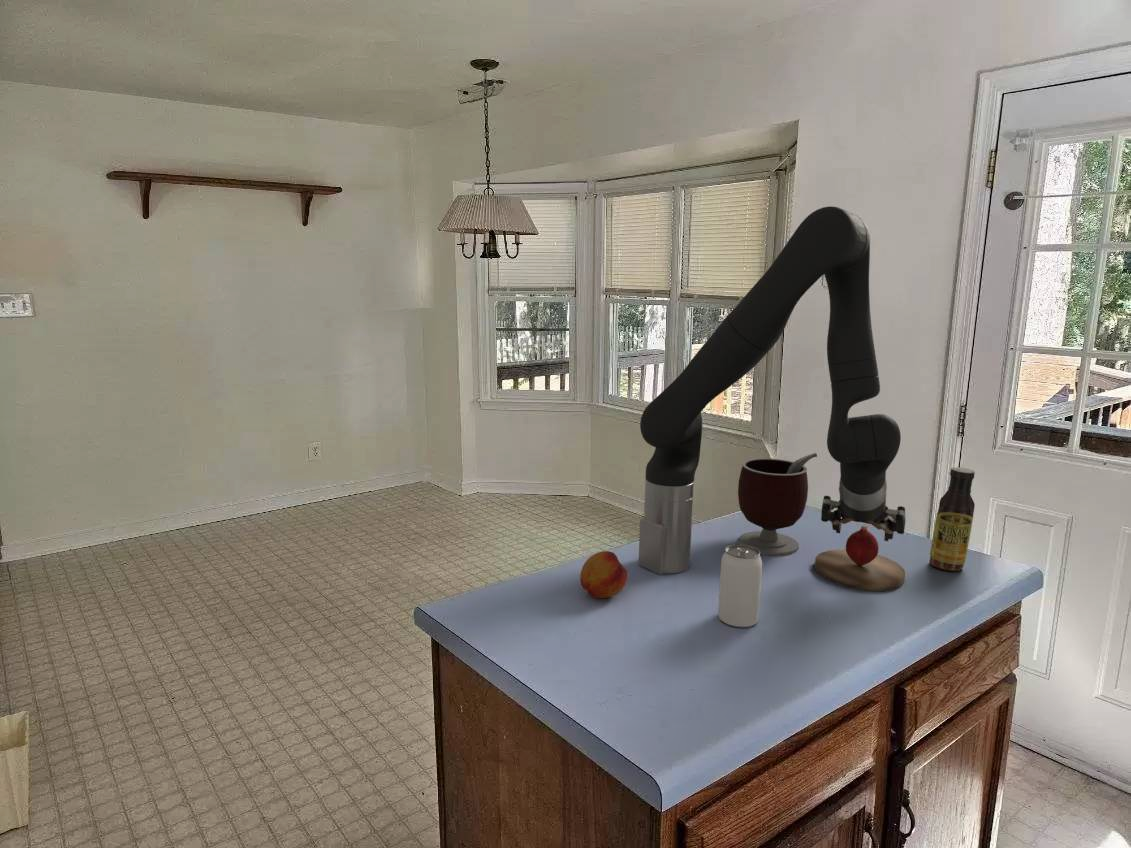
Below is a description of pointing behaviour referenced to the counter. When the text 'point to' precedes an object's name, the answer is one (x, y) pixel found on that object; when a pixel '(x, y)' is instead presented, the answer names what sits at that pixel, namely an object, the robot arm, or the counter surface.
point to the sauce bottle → (953, 522)
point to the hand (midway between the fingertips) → (862, 532)
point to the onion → (862, 547)
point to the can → (740, 586)
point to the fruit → (603, 575)
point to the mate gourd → (772, 501)
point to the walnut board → (859, 571)
